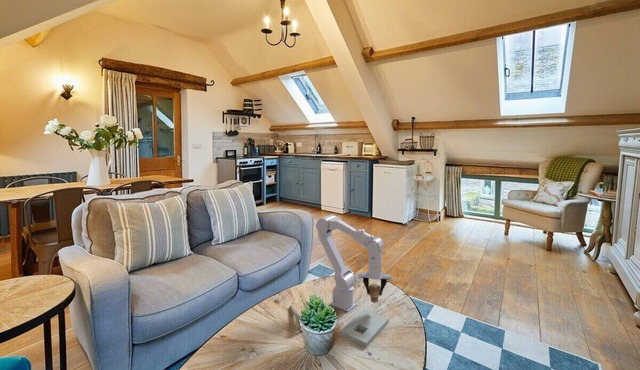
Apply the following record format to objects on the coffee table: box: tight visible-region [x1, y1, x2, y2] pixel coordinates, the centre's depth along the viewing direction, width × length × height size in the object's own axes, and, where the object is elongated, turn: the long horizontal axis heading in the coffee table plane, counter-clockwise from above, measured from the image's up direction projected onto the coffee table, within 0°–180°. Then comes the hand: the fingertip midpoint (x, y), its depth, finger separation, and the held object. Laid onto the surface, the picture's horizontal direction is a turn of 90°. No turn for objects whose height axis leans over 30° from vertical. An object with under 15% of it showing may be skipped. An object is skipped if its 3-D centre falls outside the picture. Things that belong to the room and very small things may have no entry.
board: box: [339, 308, 390, 348], centre depth 130 cm, size 12×20×2 cm, turn 143°
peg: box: [368, 283, 381, 304], centre depth 138 cm, size 5×5×7 cm
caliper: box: [289, 304, 303, 333], centre depth 137 cm, size 20×1×6 cm, turn 18°
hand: (374, 294), depth 138 cm, fingers closed on peg, 5 cm apart
